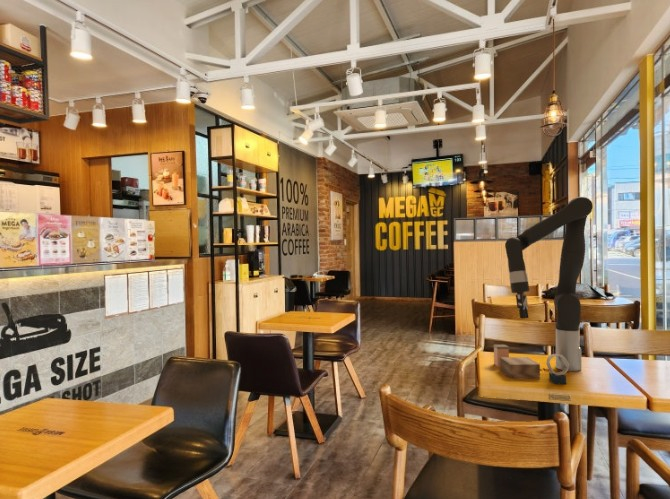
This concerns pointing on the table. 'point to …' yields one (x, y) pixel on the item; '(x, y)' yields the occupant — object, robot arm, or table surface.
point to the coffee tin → (500, 353)
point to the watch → (558, 376)
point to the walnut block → (519, 367)
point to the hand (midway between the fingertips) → (524, 318)
